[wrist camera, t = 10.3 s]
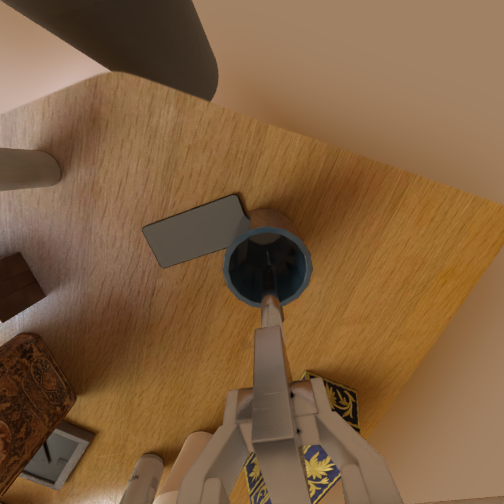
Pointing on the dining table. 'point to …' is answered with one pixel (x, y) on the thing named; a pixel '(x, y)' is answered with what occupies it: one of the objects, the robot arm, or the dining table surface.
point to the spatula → (275, 406)
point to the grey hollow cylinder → (27, 169)
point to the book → (28, 402)
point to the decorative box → (311, 449)
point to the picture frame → (57, 456)
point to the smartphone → (194, 231)
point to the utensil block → (16, 286)
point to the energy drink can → (144, 481)
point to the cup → (182, 466)
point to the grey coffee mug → (266, 257)
